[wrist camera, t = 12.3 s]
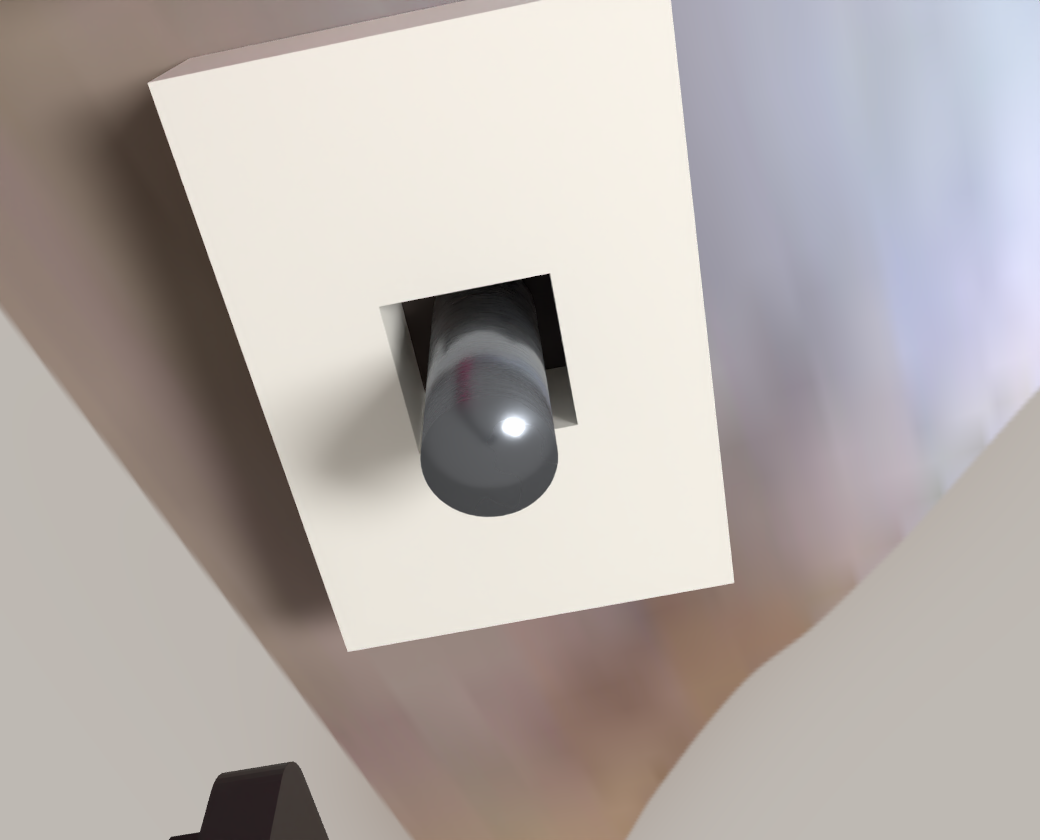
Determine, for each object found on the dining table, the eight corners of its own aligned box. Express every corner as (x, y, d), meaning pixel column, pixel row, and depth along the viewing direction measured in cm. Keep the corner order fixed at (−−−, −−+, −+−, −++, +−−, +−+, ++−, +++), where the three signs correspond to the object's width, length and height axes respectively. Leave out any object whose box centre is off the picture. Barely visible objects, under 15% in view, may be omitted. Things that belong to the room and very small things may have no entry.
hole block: (189, 58, 30) (147, 82, 27) (641, -37, 30) (667, -27, 26) (360, 576, 40) (347, 651, 36) (707, 512, 39) (734, 582, 35)
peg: (421, 276, 34) (405, 412, 25) (525, 255, 34) (545, 386, 25) (445, 370, 36) (437, 527, 27) (544, 350, 36) (568, 503, 27)
